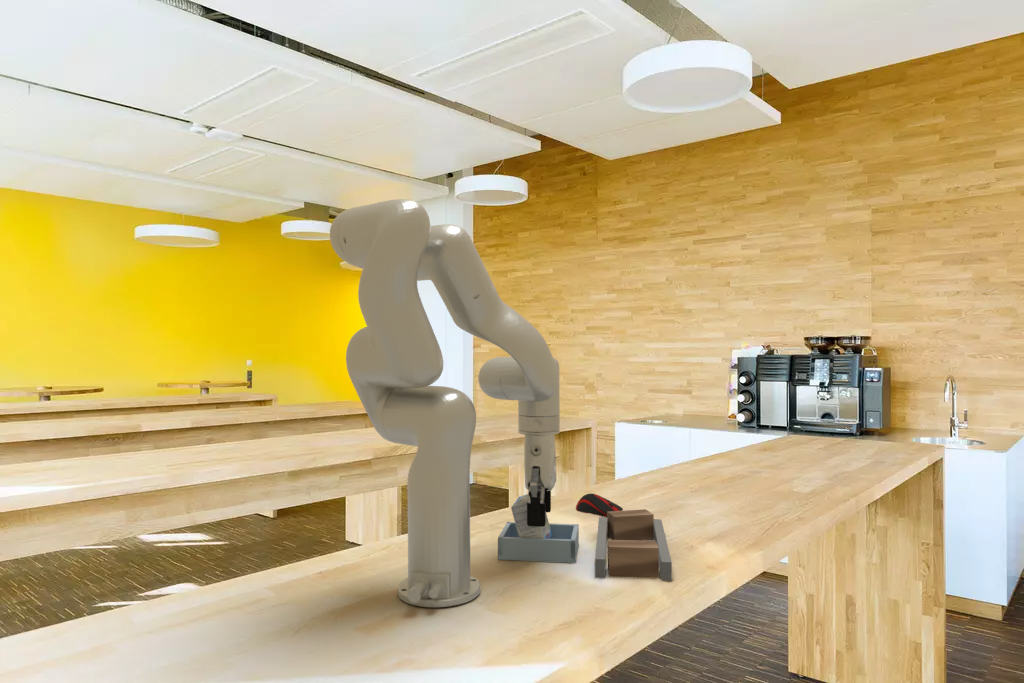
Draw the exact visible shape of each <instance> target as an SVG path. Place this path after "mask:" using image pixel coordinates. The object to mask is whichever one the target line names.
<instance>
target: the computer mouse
mask: <svg viewBox="0 0 1024 683" xmlns="http://www.w3.org/2000/svg"><path fill="white" fill-rule="evenodd" d="M575 511H577V512H579V513H584V514H589V513H590V514H591V515H596V516H599V517H603V516H604V517H607V512H609V511H624V508H622V507H621V506H619V505H618V504H616V503H614V502H613V501H611V500H609V499H607V498H605V497H603V496H600V495H598V494H596V493H586V494H584V495H582V496H581V497H580V498H579V500H578V501H577V503H576V506H575Z"/></svg>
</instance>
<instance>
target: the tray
mask: <svg viewBox="0 0 1024 683" xmlns="http://www.w3.org/2000/svg"><path fill="white" fill-rule="evenodd" d="M549 525H550V528H551V532H552V536H551V538H550V539H545V538H520V537H519V535H518V531H517V527H516V524H515V521H507V522H506V523H505V524H504V526H503V528H502V530H501V532H500V534H499V535H498V537H497V560H499V561H500V560H504V561H522V562H526V561H527V562H545V563H546V562H547V563H548V562H549V563H564V564H565V563H569V564H570V563H571V564H574V563H575V564H576V563H577V555H578V551H579V545H580V542H579V539H580V537H579V535H580V534H579V532H580V531H579V530H580V528H579V527H580V526H579V524H576V523H552V522H549Z"/></svg>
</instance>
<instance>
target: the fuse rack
mask: <svg viewBox="0 0 1024 683" xmlns="http://www.w3.org/2000/svg"><path fill="white" fill-rule="evenodd" d="M596 535H597V536H596V544H595V545H596V546H595V556H594V578H599V579H603V578H606V568H607V567H606V564H607V562H606V561H607V547H608V536H607V517H603V516H599V517H598V524H597V534H596ZM653 541H656V543H657V545H658V548H659V574H660V575H659V576H660V579H661V581H663V582H672V581H673V578H672V576H673V574H672V573H673V569H672V568H673V566H672V565H673V564H672V563H673V562H672V558H671V555H670V550H669V549H670V548H669V546H668V541H667V537H666V534H665V530H664V525H663V520H662V519H661V518H656V519H654V540H653Z"/></svg>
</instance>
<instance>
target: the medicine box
mask: <svg viewBox="0 0 1024 683" xmlns="http://www.w3.org/2000/svg"><path fill="white" fill-rule="evenodd" d="M540 497H541V496H540ZM527 503H528V493H527V494H523V495H521V496H518V498H517V499H516V500H515V502H514V503H513V504H512V505H511V506H510V509H511V512H512V518H513V519H514V521H513V522H515V524H516V527H517V531H518V535H519V537H520V538H545V539H550V538H551V536H552V532H551V528H550V525H549V523H550V522H549V519H548V514H547V513H546V524H545V526H544V527H539V526H528V525H527Z"/></svg>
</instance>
